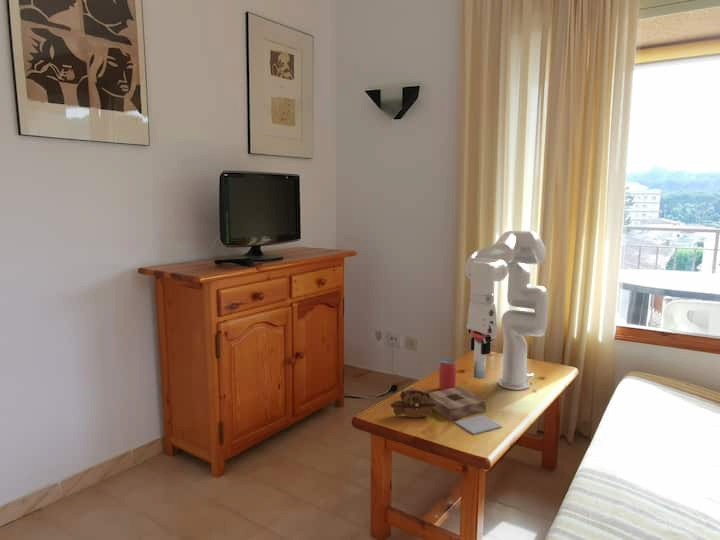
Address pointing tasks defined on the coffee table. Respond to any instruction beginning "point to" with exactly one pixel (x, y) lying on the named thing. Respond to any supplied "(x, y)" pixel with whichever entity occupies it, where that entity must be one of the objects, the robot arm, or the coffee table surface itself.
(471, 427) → the mat
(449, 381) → the beer can
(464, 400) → the eye block
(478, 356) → the peg
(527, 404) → the coffee table surface
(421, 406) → the wooden carving
